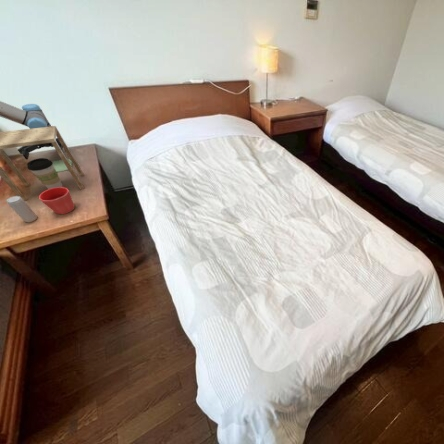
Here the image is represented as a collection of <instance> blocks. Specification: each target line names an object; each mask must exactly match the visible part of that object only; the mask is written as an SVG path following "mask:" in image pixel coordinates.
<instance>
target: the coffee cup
mask: <svg viewBox="0 0 444 444" xmlns="http://www.w3.org/2000/svg"><path fill="white" fill-rule="evenodd" d="M52 164H53V163H52V160H50V159H48V158H46V157H39V158H34V159H31V160H29V161H28V162H27V163H26V168H27V170H29V171H31V173H32V174H33V175H34V176H35V177H36V179H38V180H39V181H40V182H41V183H42V184H43V185H44V187H46V188H47V190H48V189H51V188H56V187H64V185H63V184H62V181H61V178H60V176H59V174H58V172H56V170H55V168H54V167H53V165H52Z"/></svg>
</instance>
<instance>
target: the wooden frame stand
mask: <svg viewBox="0 0 444 444" xmlns="http://www.w3.org/2000/svg"><path fill="white" fill-rule="evenodd" d="M56 138H58V140H59V141H60V143H61V145H62V146H63V150H64V151H65V153H66V155H67V157H68V158H67V157H66V155H65V153H64V152H63V150H61V148H60V147H59V145H58V144H57V142H56ZM44 143H52V144H53V146H54V147H53V148H54V149H55V152H56V153H57V152H58V153H57V155H58V156H59V157H60V160H63V162H64V164H65V165H66V167H67V168H68V172H69V173H70V175H71V176H72V178H73V180H74V181H75V183H76V184H77V186H78V187H79V189H80V190H84V189H85V186H84V185H83V182H82V181H81V179H80V178H79V176H80V177H84V175H85V174H84V172H83V171H82V169H81V167H80V165H79V164H78V162H77V160H76V158H75V157H74V155H73V153H72V152H71V150H70V148H69V146H68V144H67V143H66V142H65V140H64V138H63V136H62V134H61V133H60V131H59V129H58V128H57V126H56V125H52V126H51V127H42V128H33V129H30V128H24V129H17V130H16V129H15V130H5V131H0V157H2V159H3V161H5V163H6V164H7V165H8V166H9V167H10V169H11V170H12V171H13V172H14V174H15V175H16V176H17V177H18V178H19V180H20V181H21V182H22V184H23V185H24V186H25V187H30V186H31V183H30V181H28V180H27V178H26V177H25V176H24V175H23V173H22V172H21V170H20V169H19V168H18V167H17V166H16V164H15V163H14V161H12V159H11V158H10V157H9V156H8V154H7V153H6V152H5V151H4V150H5V149H12V148H21V147H22V146H28V145H36V144H44ZM67 159H70V160H71V161H72V166H71V165H70V163H69V162H68V160H67ZM73 166H74V168H75V170H76V171H77V173H78V174H77V173H76V171H75V170H74V168H73ZM78 175H79V176H78ZM0 177H1V178H2V180H3V181H4V182H5V183H6V184H7V186H9V188H10V189H11V190H12V191H13V192H14V193H15V196H20V197H21V198H22V199H23V200H24V201H25V202H26V201H27V200H28V199H27V197H26V196H25V195H24V193H23V192H22V191H21V190H20V189H19V188H18V187H17V185H16V184H15V183H14V182H13V180H12V179H11V178H10V177H9V176H8V175H7V174H6V172H5V171H4V170H3V168H2V167H1V166H0Z"/></svg>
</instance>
